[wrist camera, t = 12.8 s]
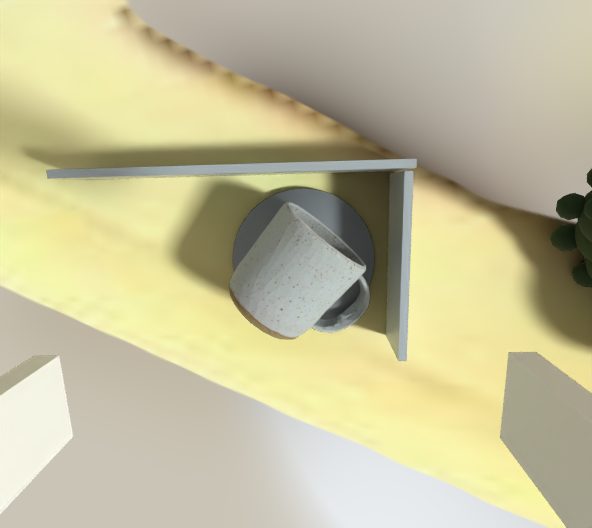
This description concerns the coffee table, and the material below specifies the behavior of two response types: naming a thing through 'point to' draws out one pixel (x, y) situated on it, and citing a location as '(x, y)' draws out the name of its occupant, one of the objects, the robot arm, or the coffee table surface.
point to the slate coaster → (327, 212)
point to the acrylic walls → (398, 181)
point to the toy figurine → (576, 231)
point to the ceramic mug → (297, 277)
